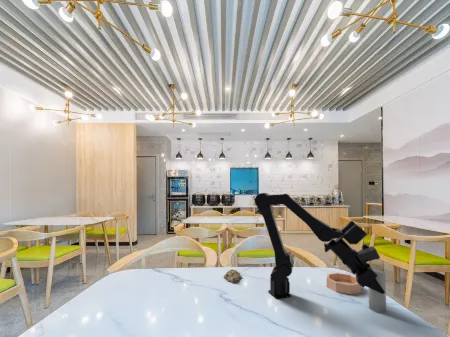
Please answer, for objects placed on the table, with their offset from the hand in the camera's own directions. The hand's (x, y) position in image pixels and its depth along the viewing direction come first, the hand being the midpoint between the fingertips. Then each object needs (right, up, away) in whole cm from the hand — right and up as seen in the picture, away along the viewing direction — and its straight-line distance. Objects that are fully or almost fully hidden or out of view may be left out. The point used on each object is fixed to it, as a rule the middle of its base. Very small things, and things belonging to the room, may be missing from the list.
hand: (381, 289), depth 85 cm
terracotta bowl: (-4, -8, +18) cm, 20 cm away
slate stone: (-1, -7, 0) cm, 7 cm away
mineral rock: (-50, -8, +26) cm, 57 cm away
